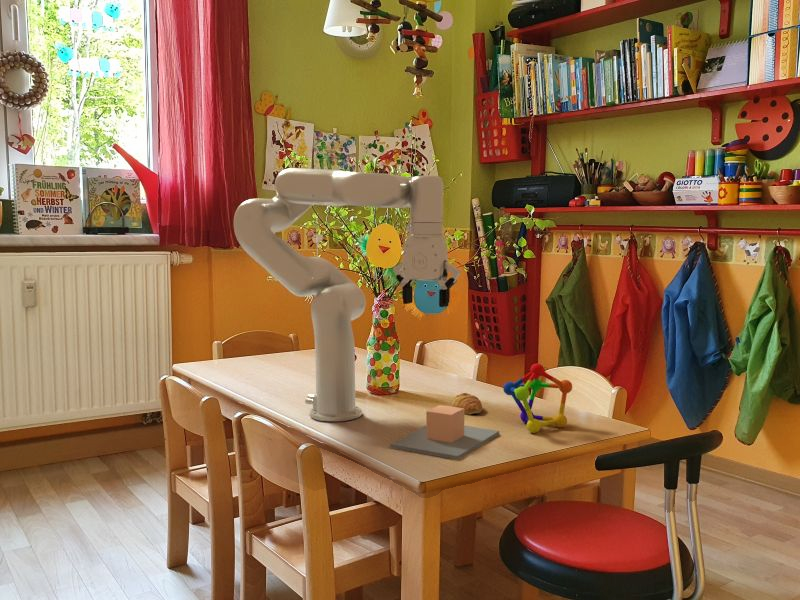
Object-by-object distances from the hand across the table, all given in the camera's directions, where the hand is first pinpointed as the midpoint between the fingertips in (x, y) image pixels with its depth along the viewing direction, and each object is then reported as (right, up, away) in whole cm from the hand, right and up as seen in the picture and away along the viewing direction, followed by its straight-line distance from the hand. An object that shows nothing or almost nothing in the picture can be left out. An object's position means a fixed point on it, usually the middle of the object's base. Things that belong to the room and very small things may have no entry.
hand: (425, 304), depth 169 cm
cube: (+4, -28, -11) cm, 31 cm away
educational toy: (+25, -28, -1) cm, 37 cm away
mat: (+4, -29, -11) cm, 32 cm away
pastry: (+11, -27, +14) cm, 32 cm away
